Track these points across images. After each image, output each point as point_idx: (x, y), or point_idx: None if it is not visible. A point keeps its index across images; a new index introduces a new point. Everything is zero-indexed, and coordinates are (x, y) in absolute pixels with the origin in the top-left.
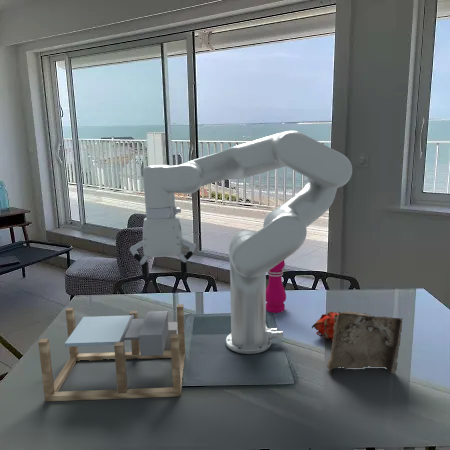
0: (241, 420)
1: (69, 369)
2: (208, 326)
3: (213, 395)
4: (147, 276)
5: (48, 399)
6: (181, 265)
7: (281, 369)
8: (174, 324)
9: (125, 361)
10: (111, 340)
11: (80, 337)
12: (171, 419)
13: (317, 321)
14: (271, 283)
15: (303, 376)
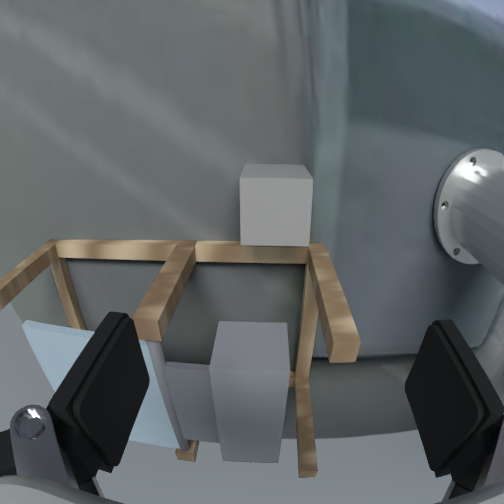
0: (381, 412)
1: (72, 297)
2: (397, 74)
3: (360, 377)
4: (145, 387)
5: None
6: (431, 459)
7: (486, 312)
8: (300, 201)
9: None
10: (160, 443)
11: None
12: (290, 413)
13: None
14: None
15: (499, 329)
